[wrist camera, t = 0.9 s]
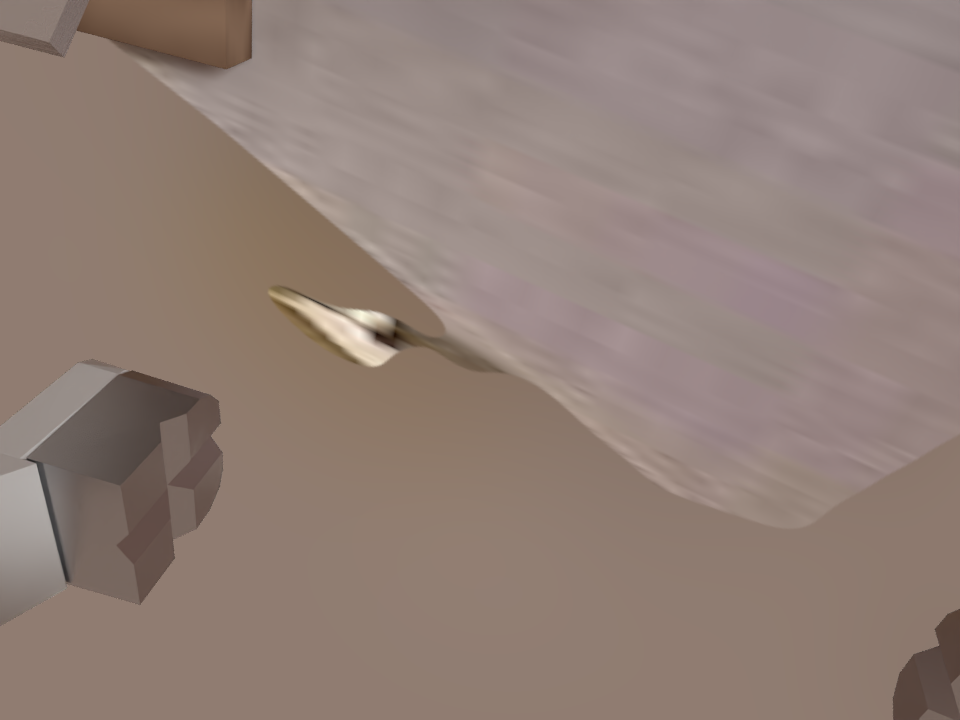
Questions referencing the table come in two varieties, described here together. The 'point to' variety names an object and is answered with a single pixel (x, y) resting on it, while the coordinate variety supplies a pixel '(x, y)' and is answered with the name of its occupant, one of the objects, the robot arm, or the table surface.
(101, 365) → the robot arm
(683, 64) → the table surface
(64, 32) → the latch bar
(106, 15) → the walnut holder
